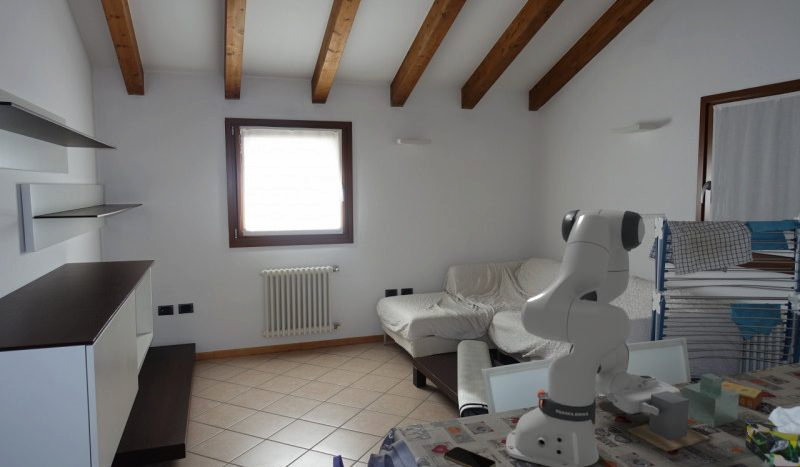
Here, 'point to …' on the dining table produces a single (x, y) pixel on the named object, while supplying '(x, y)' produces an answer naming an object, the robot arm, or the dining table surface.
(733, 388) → the carton
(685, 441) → the mat
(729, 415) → the grey-green block
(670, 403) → the grey rectangular block
